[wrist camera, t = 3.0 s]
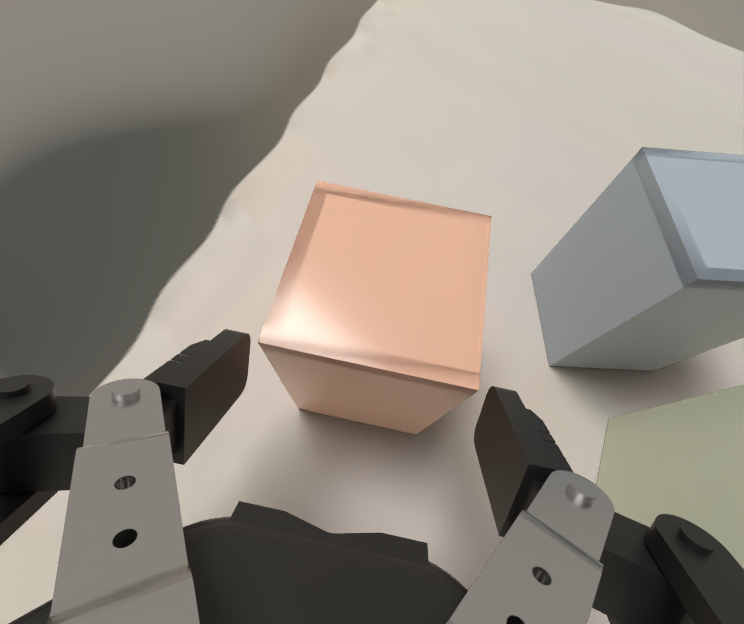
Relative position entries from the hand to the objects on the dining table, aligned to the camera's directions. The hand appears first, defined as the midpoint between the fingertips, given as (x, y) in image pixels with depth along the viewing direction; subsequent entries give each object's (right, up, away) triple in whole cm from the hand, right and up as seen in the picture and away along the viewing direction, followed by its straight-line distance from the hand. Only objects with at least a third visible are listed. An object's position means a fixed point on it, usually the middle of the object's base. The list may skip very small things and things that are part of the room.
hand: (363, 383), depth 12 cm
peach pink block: (0, -1, +9) cm, 9 cm away
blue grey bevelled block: (+14, +2, +11) cm, 18 cm away
